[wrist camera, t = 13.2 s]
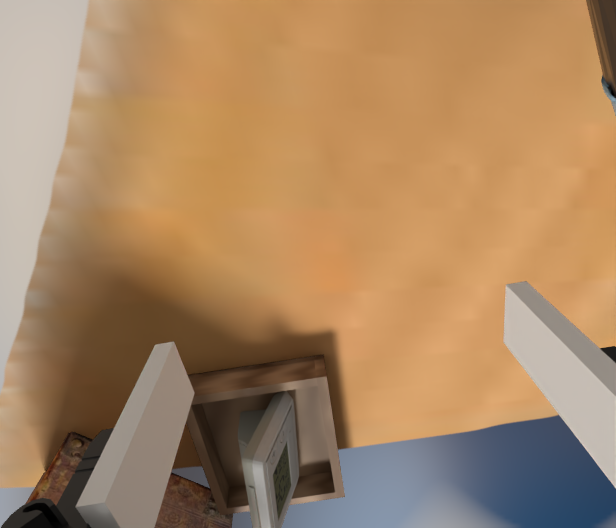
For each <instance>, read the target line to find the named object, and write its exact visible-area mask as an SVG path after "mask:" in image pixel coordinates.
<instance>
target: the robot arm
mask: <svg viewBox="0 0 616 528" xmlns="http://www.w3.org/2000/svg"><path fill="white" fill-rule="evenodd" d="M586 1H587V6H588V10H589V15H590V19H591V24H592V28H593V32H594V37H595V41H596V46H597V50H598V55H599V59H600V63H601V68H602V72H603V76H602V80H601V81H602V86H603V90H604V92H605V94H606V95H607V97H608V98H609V99H610V100H611V102H612V106H613V109H614V112H615V115H616V0H586ZM504 343H505V345H506V346H507V347H508V349H509V350H510V351H511V353H512V354H513V355H514V356H515V358H516V359H517V360H518V362H519V363H520V364H521V366H522V367H523V368H524V369H525V371H526V372H527V373H528V375H529V376H530V377H531V379H532V380H533V381H534V382H535V384H536V385H537V386H538V388H539V389H540V390H541V392H542V393H543V394H544V395H545V397H546V398H547V399H548V401H549V402H550V403H551V405H552V406H553V407H554V408H555V410H556V411H557V412H558V414H559V415H560V416H561V417H562V419H563V420H564V422H565V423H566V424H567V425H568V426H569V428H570V429H571V431H572V432H573V433H574V435H575V436H576V437H577V438H578V440H579V441H580V442H581V444H582V445H583V446H584V448H585V449H586V450H587V451H588V453H589V454H590V455H591V457H592V458H593V459H594V461H595V462H596V463H597V464H598V466H599V467H600V468H601V470H602V471H603V472H604V474H605V475H606V476H607V477H608V479H609V480H610V481H611V482H612V484H613V485H614V486H615V488H616V347H615V346H612V347H606V348H599V347H597V346H596V345H595V344H594V343H593V342H592V341H591V340H590V339H589V338H588V337H587V336H585V335H584V334H583V333H582V332H581V331H580V330H579V329H578V328H577V327H576V326H574V325H573V324H572V323H571V322H570V321H569V320H568V319H567V318H566V317H565V316H564V315H562V314H561V313H560V312H559V311H558V310H557V309H556V308H555V307H554V306H553V305H552V304H550V303H549V302H548V301H547V300H546V299H545V298H544V297H543V296H542V295H541V294H540V293H538V292H537V291H536V290H535V289H534V288H533V287H532V286H531V285H530V284H529V283H527V282H526V281H525V282H519V283H513V284H507V285H506V295H505V319H504ZM193 397H194V390H193V388H192V385H191V383H190V380H189V378H188V375H187V373H186V370H185V368H184V365H183V363H182V360H181V358H180V355H179V353H178V350H177V348H176V345H175V343H174V341H173V342H168V343H162V344H156V345H155V346H154V348H153V350H152V352H151V354H150V356H149V358H148V360H147V362H146V365H145V367H144V369H143V371H142V373H141V375H140V377H139V379H138V381H137V383H136V385H135V387H134V389H133V391H132V393H131V395H130V397H129V399H128V401H127V403H126V405H125V407H124V409H123V411H122V413H121V415H120V417H119V419H118V421H117V423H116V425H115V427H114V428H112V429H106V430H102V431H101V432H100V433H99V434H98V435H97V436H96V437H95V438H94V439H93V441H92V442H91V443H90V444H89V446H88V447H87V449H86V451H85V453H84V455H83V457H82V461H80V462H79V464H78V466H77V468H76V470H75V474H73V475H72V477H71V479H70V481H69V483H68V485H67V486H66V488H65V490H64V492H63V494H62V496H61V498H60V499H59V501H58V503H57V505H55V504H54V503H53V501H52V500H51V499H47V498H40V499H36V500H32V501H31V502H29V503H27V504H25V505H23V506H22V507H20V508H19V509H18V510H17V511H16V512H14V513H13V514H12V515H11V516H10V517H9V518H8V519H7V520H6V521H5V523H4V524H3V525H2V527H1V528H154V527H155V524H156V521H157V517H158V514H159V510H160V507H161V504H162V500H163V497H164V494H165V490H166V487H167V484H168V480H169V477H170V474H171V470H172V467H173V464H174V460H175V457H176V454H177V450H178V447H179V444H180V440H181V437H182V434H183V430H184V427H185V423H186V420H187V417H188V413H189V410H190V407H191V403H192V400H193Z"/></svg>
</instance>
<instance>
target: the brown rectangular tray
mask: <svg viewBox="0 0 616 528" xmlns="http://www.w3.org/2000/svg"><path fill="white" fill-rule="evenodd" d="M188 378H189V380H190V383H191V385H192V388H193V390H194V397H193V400H192V403H191V407H190V410H189V413H188V417H187V420H186V423H187V426H188V429H189V431H190V434H191V437H192V440H193V442H194V445H195V448H196V451H197V453H198V456H199V459H200V462H201V464H202V467H203V470H204V472H205V475H206V478H207V481H208V483H209V486H210V489H211V492H212V494H213V497H214V500H215V503H216V505H217V508H218V511H219V514H220V515H227V514H233V513H240V512H247V511H250V509H249V503H248V497H247V491H246V485H245V479H244V472H243V466H242V460H241V454H240V448H239V442H238V428H239V419H240V413H241V412H243V411H253V410H265V409H267V407H268V405H269V403H270V401H271V400H272V398H273V396H274V395H275V394H277V393H278V392H281V391H287V392H288V393H289V395H290V396H291V397H292V398H293V402H294V413H295V425H296V438H297V450H298V463H299V478H298V481H297V484H296V487H295V490H294V493H293V496H292V499H291V501H290V504H289V505H293V504H300V503H306V502H313V501H320V500H327V499H333V498H340V497H345V494H344V488H343V482H342V475H341V468H340V462H339V455H338V448H337V442H336V435H335V428H334V422H333V415H332V409H331V402H330V395H329V389H328V382H327V376H326V369H325V362H324V356H323V355H318V356H312V357H305V358H298V359H292V360H285V361H278V362H272V363H265V364H259V365H252V366H245V367H239V368H232V369H225V370H219V371H212V372H206V373H199V374H192V375H188Z"/></svg>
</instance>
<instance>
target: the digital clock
mask: <svg viewBox="0 0 616 528" xmlns="http://www.w3.org/2000/svg"><path fill="white" fill-rule="evenodd" d="M238 442H239V448H240V454H241V460H242V466H243V472H244V479H245V485H246V491H247V497H248V503H249V509H250V515H251V521H252V527H253V528H281V527H282V524H283V521H284V518H285V515H286V513H287V510H288V507H289V504H290V501H291V499H292V496H293V493H294V490H295V487H296V484H297V481H298V478H299V463H298V450H297V438H296V425H295V413H294V402H293V398H292V397H291V396H290V395H289V393H288V392H287V391H281V392H278V393H277V394H275V395H274V396H273V398H272V400H271V401H270V403H269V405H268V407H267V409H265V410H253V411H243V412H241V413H240V419H239V428H238Z"/></svg>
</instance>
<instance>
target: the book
mask: <svg viewBox="0 0 616 528" xmlns="http://www.w3.org/2000/svg"><path fill="white" fill-rule="evenodd" d="M92 441H93V440H92V439H89V438H87V437H84V436H82V435H79V434H77V433H75V432H70V433H68V435H67V437H66V438H65V440H64V442H63V444H62V445H61V447H60V449H59V451H58V452H57V454H56V456H55V457H54V459H53V461H52V463H51V464H50V466H49V468H48V469H47V471H46V472H44V474H43V475H42V477H41V479H40V480H39V482H38V484H37V485H36V487H35V489H34V491H33V492H32V494H31V496H30V497H29V499H28V501H27V502H26V504H27V503H29V502H31V501H32V500H36V499H40V498H47V499H51V500H52V501H53V503H54V504H55V505H57V503H58V501H59V499H60V498H61V496H62V494H63V492H64V490H65V488H66V486H67V485H68V483H69V481H70V479H71V477H72V475H73V474H75V470H76V468H77V466H78V464H79V462H80V461H82V457H83V455H84V453H85V451H86V449H87V447H88V446H89V444H90V443H91V442H92ZM232 518H233V514H227V515H220V514H219V511H218V508H217V505H216V503H215V500H214V497H213V494H212V492H211V489H210V488H207V487H204V486H203V485H200V484H198V483H195V482H193V481H191V480H188V479H186V478H183V477H181V476H179V475H176V474H174V473H171V474H170V477H169V480H168V484H167V487H166V490H165V494H164V497H163V500H162V504H161V507H160V510H159V514H158V517H157V521H156V524H155V527H154V528H232Z"/></svg>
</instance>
